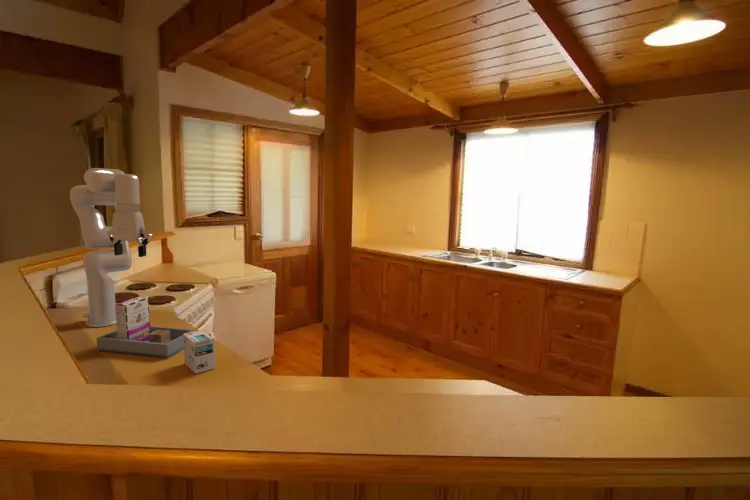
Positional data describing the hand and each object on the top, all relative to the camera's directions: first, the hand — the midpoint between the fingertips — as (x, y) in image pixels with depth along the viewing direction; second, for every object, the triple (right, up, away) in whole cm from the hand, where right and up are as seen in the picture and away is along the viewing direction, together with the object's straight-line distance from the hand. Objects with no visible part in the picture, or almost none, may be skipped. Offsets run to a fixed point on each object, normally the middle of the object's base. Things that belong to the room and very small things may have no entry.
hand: (130, 255), depth 143 cm
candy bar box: (-1, -33, +5) cm, 34 cm away
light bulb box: (+30, -37, -11) cm, 49 cm away
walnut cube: (+9, -34, +3) cm, 35 cm away
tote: (+4, -34, +4) cm, 35 cm away
